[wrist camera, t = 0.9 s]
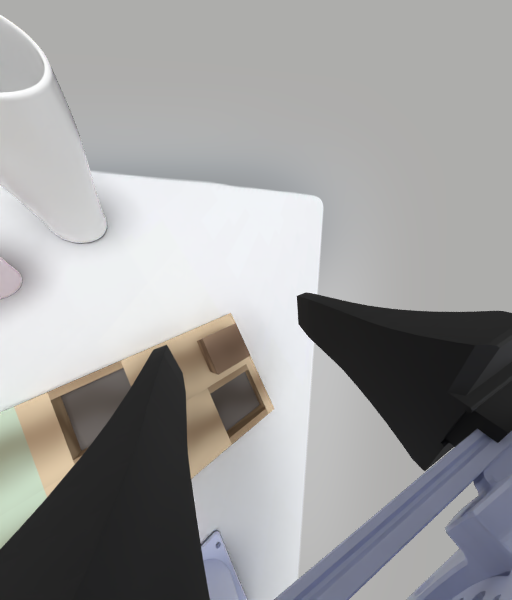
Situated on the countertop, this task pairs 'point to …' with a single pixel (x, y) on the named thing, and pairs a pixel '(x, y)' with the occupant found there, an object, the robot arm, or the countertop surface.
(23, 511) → the wooden board
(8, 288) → the smoothie
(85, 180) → the drinking glass
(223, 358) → the block
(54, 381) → the countertop surface
